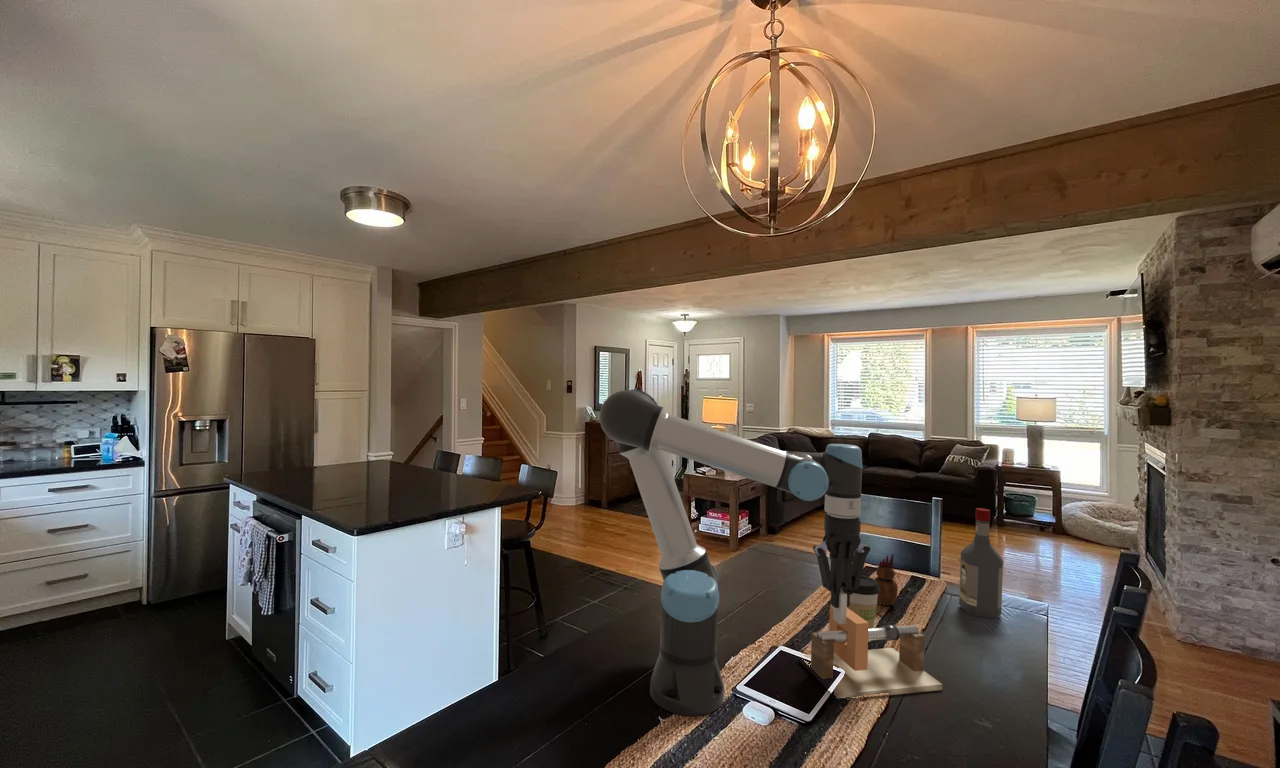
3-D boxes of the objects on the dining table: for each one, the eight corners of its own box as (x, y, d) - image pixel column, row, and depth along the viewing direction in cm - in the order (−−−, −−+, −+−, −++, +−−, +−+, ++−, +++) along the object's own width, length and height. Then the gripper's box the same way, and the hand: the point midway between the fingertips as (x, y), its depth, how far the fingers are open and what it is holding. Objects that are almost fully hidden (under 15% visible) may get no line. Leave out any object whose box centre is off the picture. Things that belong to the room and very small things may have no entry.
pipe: (823, 648, 116) (824, 634, 116) (815, 641, 119) (816, 627, 119) (919, 641, 121) (920, 627, 121) (909, 634, 124) (910, 620, 124)
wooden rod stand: (837, 700, 109) (838, 656, 109) (798, 660, 125) (799, 622, 125) (942, 689, 115) (943, 647, 115) (892, 652, 130) (893, 615, 130)
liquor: (989, 607, 161) (992, 507, 161) (1004, 620, 152) (1008, 514, 152) (956, 603, 162) (959, 505, 162) (969, 616, 153) (972, 511, 153)
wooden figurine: (898, 603, 161) (899, 553, 161) (895, 609, 156) (897, 558, 156) (873, 598, 165) (875, 549, 165) (870, 604, 160) (872, 553, 160)
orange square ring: (854, 670, 114) (856, 623, 114) (828, 647, 123) (830, 604, 123) (867, 669, 114) (868, 622, 114) (840, 646, 124) (841, 603, 124)
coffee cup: (882, 650, 132) (884, 589, 132) (840, 644, 133) (842, 584, 134) (873, 632, 141) (875, 575, 141) (834, 627, 143) (836, 571, 143)
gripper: (825, 519, 113) (822, 631, 113) (879, 518, 116) (876, 627, 116) (806, 511, 121) (804, 616, 121) (858, 509, 123) (855, 612, 123)
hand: (839, 621), depth 118 cm, fingers closed
